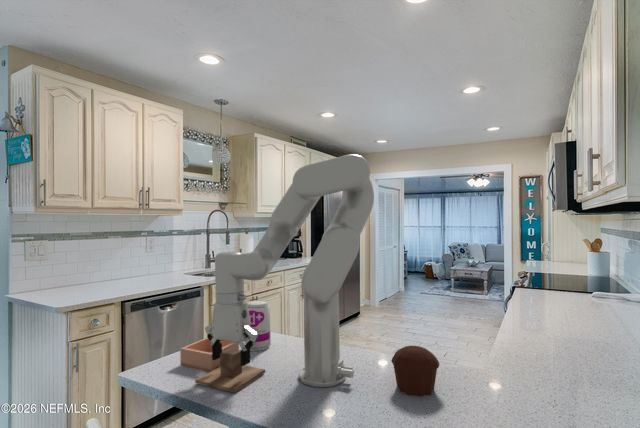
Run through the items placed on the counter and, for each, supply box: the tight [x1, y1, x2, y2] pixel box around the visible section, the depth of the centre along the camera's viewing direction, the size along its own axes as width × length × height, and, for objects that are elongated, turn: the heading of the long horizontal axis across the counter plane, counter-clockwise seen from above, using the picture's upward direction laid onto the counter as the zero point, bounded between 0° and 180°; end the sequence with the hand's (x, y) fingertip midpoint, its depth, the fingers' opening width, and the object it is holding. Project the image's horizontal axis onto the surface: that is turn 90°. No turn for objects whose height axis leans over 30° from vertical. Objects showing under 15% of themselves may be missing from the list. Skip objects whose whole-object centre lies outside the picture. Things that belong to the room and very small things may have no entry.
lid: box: [194, 349, 266, 393], centre depth 100 cm, size 13×13×7 cm
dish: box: [179, 336, 240, 373], centre depth 113 cm, size 12×12×5 cm
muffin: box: [390, 345, 440, 398], centre depth 93 cm, size 12×11×10 cm
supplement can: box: [246, 299, 272, 352], centre depth 125 cm, size 8×8×15 cm
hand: (231, 361), depth 100 cm, fingers open, 9 cm apart
